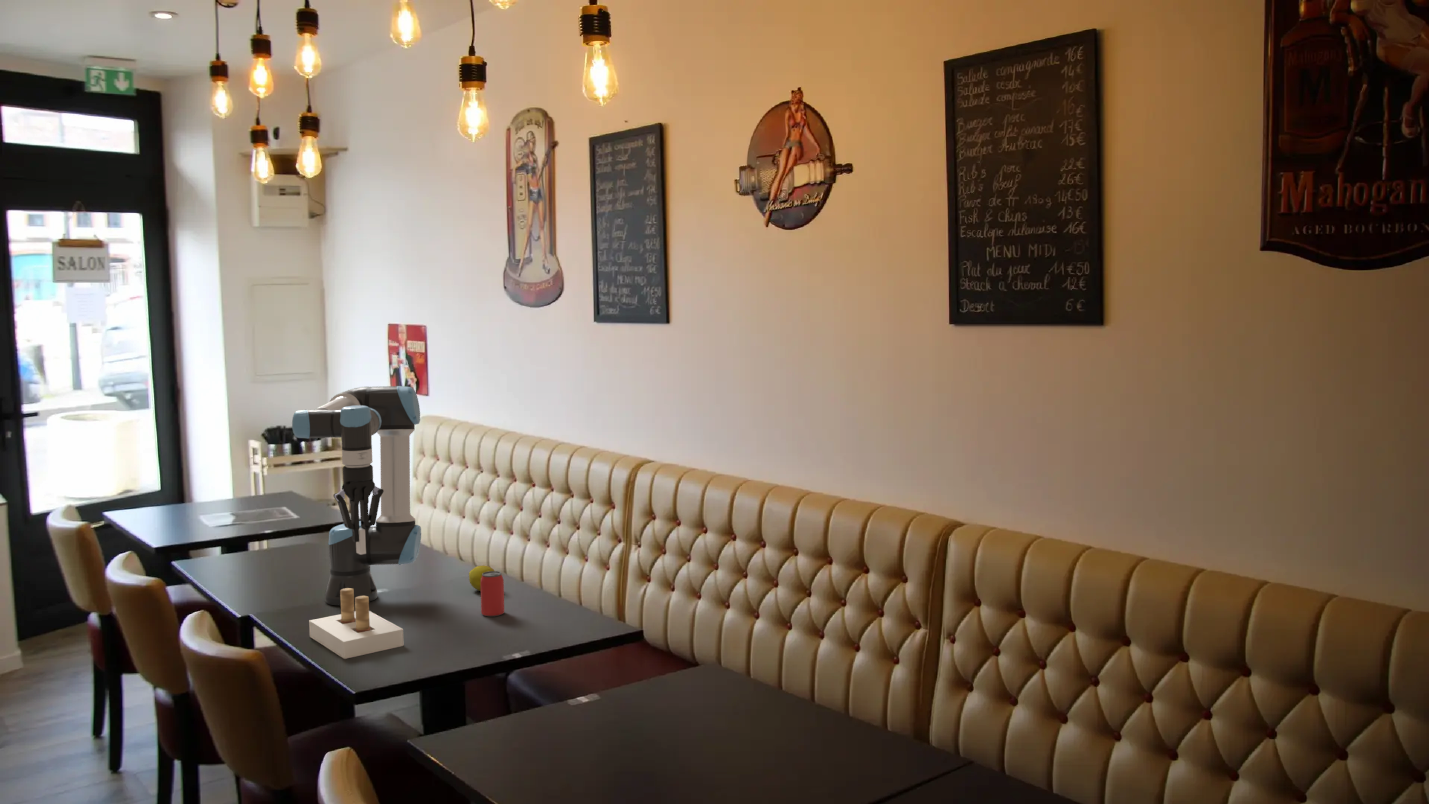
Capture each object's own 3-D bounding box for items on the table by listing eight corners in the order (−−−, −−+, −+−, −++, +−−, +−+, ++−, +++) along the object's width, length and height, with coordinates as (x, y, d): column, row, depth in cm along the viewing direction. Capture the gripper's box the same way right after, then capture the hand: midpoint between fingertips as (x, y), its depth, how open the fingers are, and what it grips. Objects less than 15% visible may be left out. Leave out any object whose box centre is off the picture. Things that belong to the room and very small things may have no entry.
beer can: (499, 617, 314) (498, 576, 313) (477, 616, 315) (476, 575, 314) (507, 611, 320) (506, 571, 319) (486, 610, 321) (485, 570, 320)
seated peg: (352, 633, 300) (350, 587, 298) (357, 636, 297) (356, 590, 296) (339, 636, 297) (337, 589, 296) (344, 639, 295) (342, 592, 293)
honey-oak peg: (367, 642, 292) (365, 594, 291) (372, 645, 289) (371, 597, 288) (354, 645, 290) (352, 597, 288) (359, 648, 287) (357, 600, 286)
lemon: (503, 592, 341) (502, 566, 340) (481, 596, 336) (480, 571, 335) (485, 585, 349) (485, 560, 348) (463, 589, 344) (463, 564, 343)
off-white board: (366, 624, 308) (366, 609, 307) (403, 645, 289) (403, 629, 289) (309, 636, 297) (309, 620, 297) (344, 659, 279) (343, 641, 279)
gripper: (338, 469, 279) (342, 560, 282) (387, 464, 288) (390, 551, 291) (327, 466, 285) (331, 554, 288) (375, 460, 293) (378, 546, 296)
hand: (361, 553), depth 289 cm, fingers closed
